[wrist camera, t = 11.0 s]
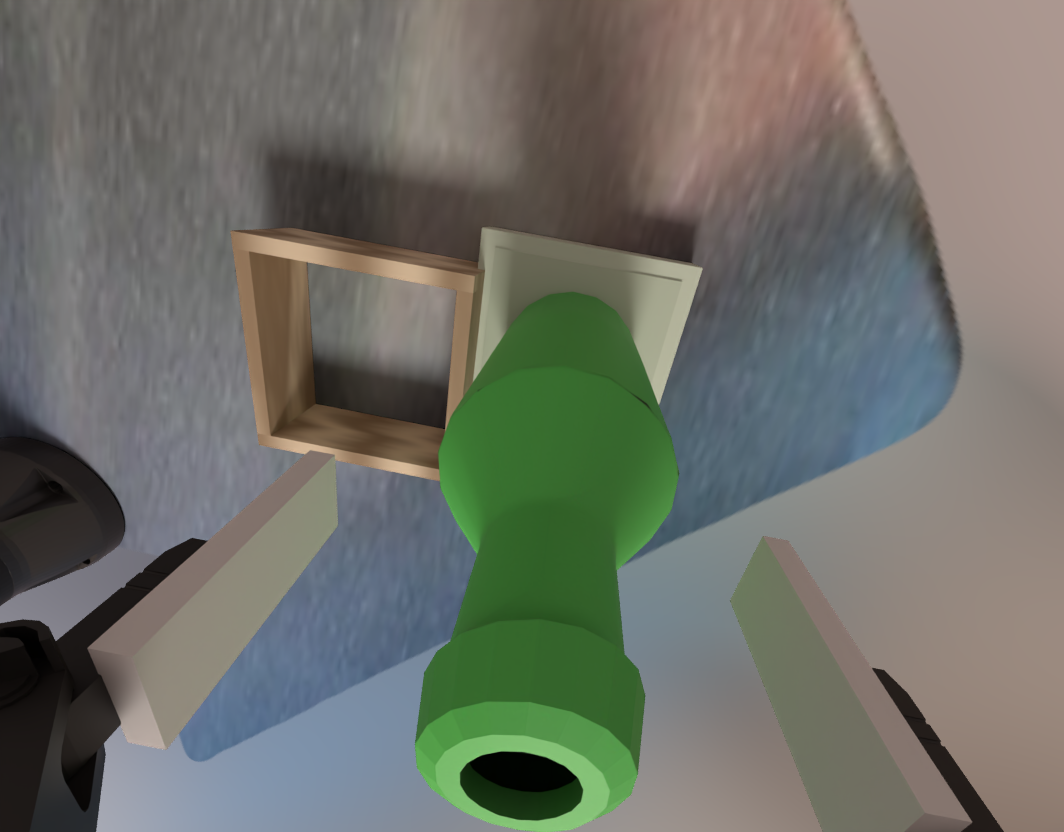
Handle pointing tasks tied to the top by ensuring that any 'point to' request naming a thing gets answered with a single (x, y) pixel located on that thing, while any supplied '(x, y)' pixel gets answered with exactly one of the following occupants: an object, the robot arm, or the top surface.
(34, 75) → the top surface
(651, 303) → the stand block
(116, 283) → the top surface
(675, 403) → the top surface
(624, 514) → the bottle
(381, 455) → the open square wooden frame
